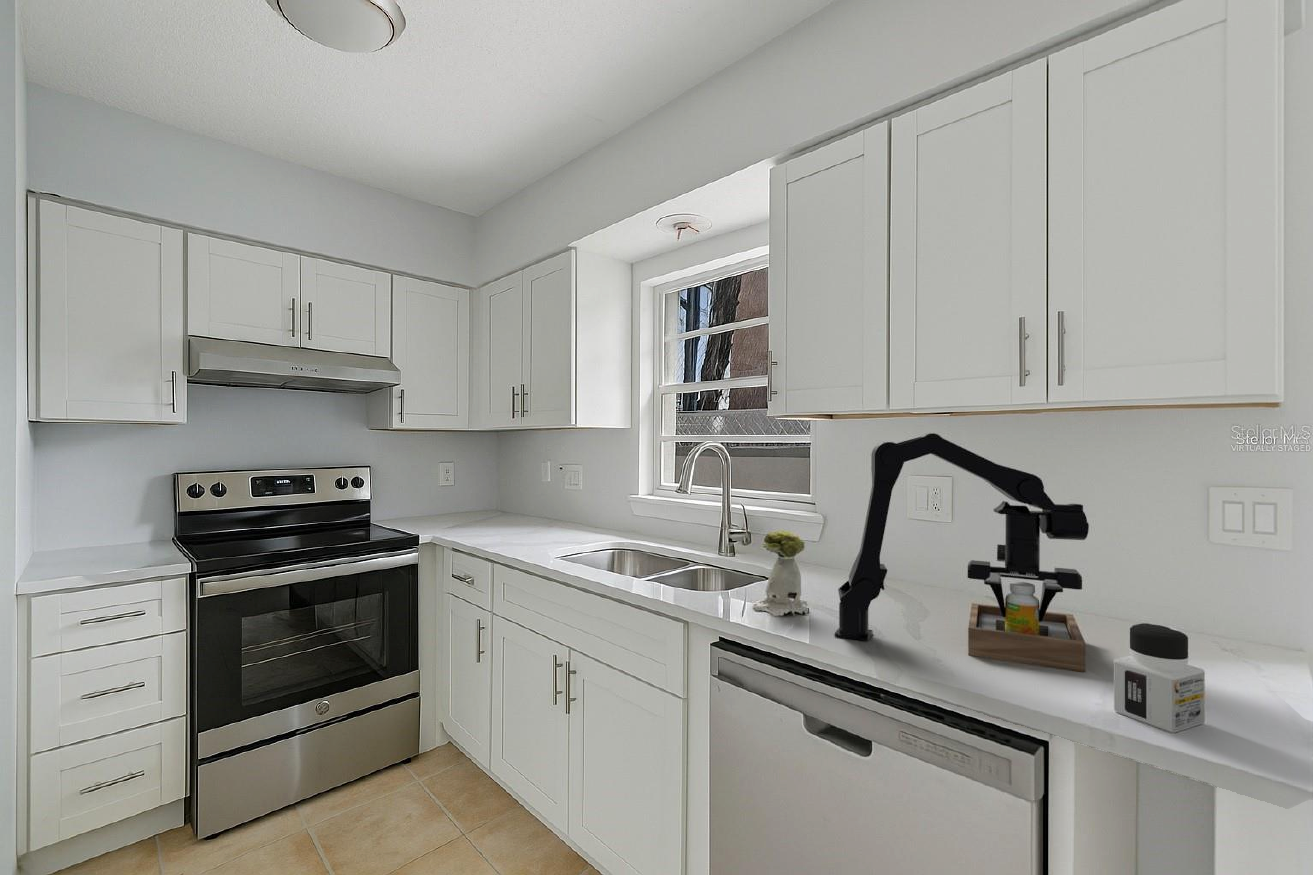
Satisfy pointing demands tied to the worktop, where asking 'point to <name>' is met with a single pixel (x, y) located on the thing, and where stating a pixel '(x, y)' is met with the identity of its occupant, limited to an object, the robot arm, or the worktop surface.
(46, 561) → the worktop surface
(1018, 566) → the robot arm
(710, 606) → the worktop surface
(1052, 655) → the tray
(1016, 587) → the supplement bottle
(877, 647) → the worktop surface
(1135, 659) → the container
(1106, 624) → the worktop surface
